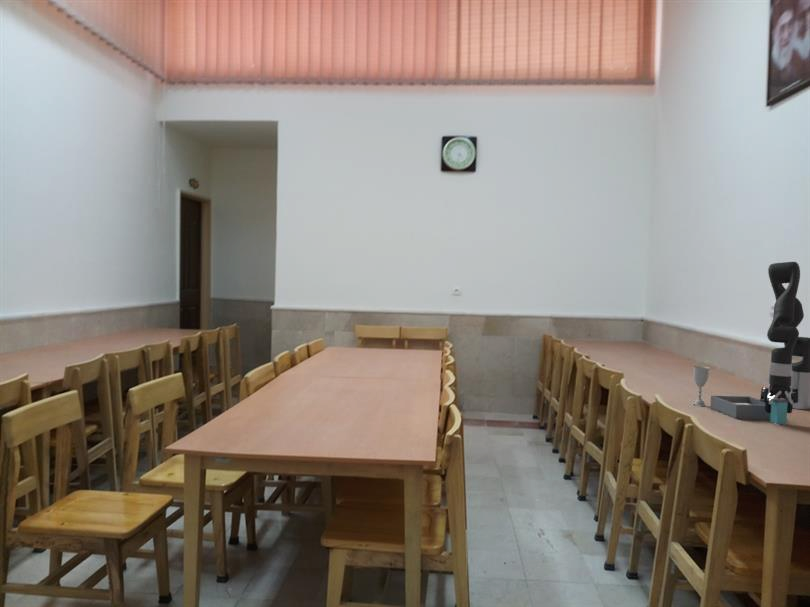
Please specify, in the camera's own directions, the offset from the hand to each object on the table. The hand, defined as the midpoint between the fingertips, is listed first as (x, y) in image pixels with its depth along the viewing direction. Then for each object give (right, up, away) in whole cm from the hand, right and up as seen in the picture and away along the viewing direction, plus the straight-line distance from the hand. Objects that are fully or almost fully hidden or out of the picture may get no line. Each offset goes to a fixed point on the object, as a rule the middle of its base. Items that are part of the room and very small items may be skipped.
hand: (778, 412), depth 223 cm
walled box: (-6, -4, +15) cm, 16 cm away
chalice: (-16, -3, +31) cm, 35 cm away
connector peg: (0, -4, 0) cm, 4 cm away
